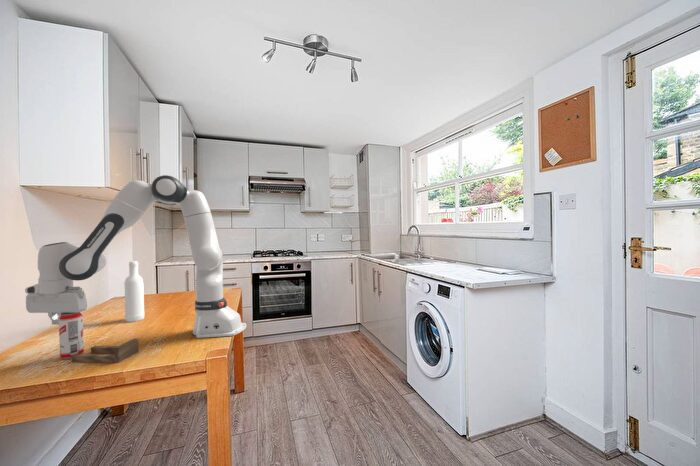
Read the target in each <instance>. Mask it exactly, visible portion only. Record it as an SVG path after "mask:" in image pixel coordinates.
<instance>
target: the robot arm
mask: <svg viewBox="0 0 700 466" xmlns="http://www.w3.org/2000/svg"><path fill="white" fill-rule="evenodd" d="M205 196H206V195H205V194H204V193H203V192H202V191H200V190H196V189H192V190H191V189H190V190H188V188H187V187H186V186H185V185H184V184H183V183H181V181H180V180H178V178H176V177H174V176H171V175H165V174H164V175H160V176H157V177H155V178H154V180H153V181H152V182H151V183H148V182H146V181H143V180H140V179H133V180H131V181H129V182H128V183H127V184H126V185H124V187H122V189H120V190H119V192H117V194H116V195H115V197H114V198H113V199H112V200H111V202H110V203H109V204H108V207H107V208H106V210H105V212H104V213H103V216H102V217H101V219H100V221H99V223H98V224H97V225H96V227H95V228H94V229H93V230H92V231H91V232H90V234H89V235H88V237H87V238H86V239H85V240H84V242H83V243H82V244H81V245H80V246H76V245H73V244H71V243H70V242H67V241H63V242H62V241H60V242H54V243H49V244H45V245H42V246H41V247H40V248H39V250H38V255H37V270H38V272H39V277H38V279H37V283H36V284H33V285H31V286H27V287H26V288H25V289H24V291H25V294H26V295H25V308H26V309H25V310H26V311H27V312H28V313H30V314H47V315H48V318H49V319H50V320H51V325H53V326H54V325H58V326H59V318H60V317H61V314H62V313H78V312H80V313H82V312H83V311H86V310H87V308H88V301H87V297H86V294H85V290H84V289H83V288H82V287H81V286H74V281H75V282H76V281H79V282H80V281H84V280H87V279H88V280H89V278H91V277H92V276H93V275H96V274H97V273H99V272H101V270H103V268H104V267H105V266H106V264H107V260H106V257H105V256H104V255H103V253H104V251H105V250H106V249H107V247H108V246H109V245H110V244H111V242H112V241H113V240H114V238H116V236H117V235H119V234H120V233H121V232H123V231H125V230H127V229H129V228H130V227H132V226H133V225H135V224H136V223H137V222H138V221H139V220H140V219H141V217H143V215H144V214H145V212H146V211H147V210H148V208H149V207H150V206H151V205H152V204H154V203H157V204H162V205H164V206H165V205H167V206H174V205H177V206H178V207H179V208H180V209H181V212H182V217H183V221H184V223H185V226H186V227H185V228H186V230H187V234H188V239H189V245H190V250H191V254H192V259H193V263H194V265H195V266H196V273H195V274H196V276H195V300H194V310H195V319H194V324H193V330H192V334H193V335H194V336H195V337H196V338H197V339H201V338H216V337H217V338H218V337H233V336H236V335H238V334H240V333H242V332H243V331H244V330H245V329H246V328H247V324H246V322H242V318H241V315H240V313H238V312H237V311H236V310H234V309H233V308H231V307H229V306H228V302H229V298H228V299H225V297H224V279H223V278H224V277H223V276H224V270H223V269H224V258H223V257H224V256H223V250H222V249H221V248H220V245H219V244H220V243H219V239H218V235H217V230H216V225H215V223H214V219H213V215H212V211H211V209H210V205H209V202H208V201H207V199H206V197H205Z"/></svg>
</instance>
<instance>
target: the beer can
mask: <svg viewBox="0 0 700 466" xmlns="http://www.w3.org/2000/svg"><path fill="white" fill-rule="evenodd" d="M58 329H59V330H58V332H59V333H58V336H59V337H58V338H59V339H58V340H59V341H58V342H59V357H60V359H63V360H69V359H71V356H73V355H75V354H84V351H85V346H84V344H85V343H84V316H83V314H82V312H78V313H62V314H61V317H60V318H59V325H58Z"/></svg>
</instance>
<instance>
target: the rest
mask: <svg viewBox="0 0 700 466" xmlns="http://www.w3.org/2000/svg"><path fill="white" fill-rule="evenodd" d="M139 342H140V341H139V338H133V339H131V340H129V341H126V342H124V343H121V344H120V345H93V346H91V347H90V353H91V354H90V353H87V354H85V353H82V354H75V355H73V356H71V362H73V363H76V362H77V363H78V362H79V363H81V362H82V363H120V362H123V361H124V360H126V359H129V357H132V356H133V355H135V354H137V353H138V352H139V350H140V348H139V345H140V344H139Z"/></svg>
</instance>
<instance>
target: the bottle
mask: <svg viewBox="0 0 700 466" xmlns="http://www.w3.org/2000/svg"><path fill="white" fill-rule="evenodd" d="M128 269H129V275H128V276H127V277H126V278H125V281H124V282H123V283H124V312H125V313H124V314H125V315H124V319H125V320H124V321H125V322H127V323H133V322H139V321H143V320H144V319H145V313H146V312H145V291H144V289H145V288H144V286H145V285H144V279H143V277H142V276H141V275H140V274H139V261H137V260H132V261H129V263H128Z"/></svg>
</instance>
